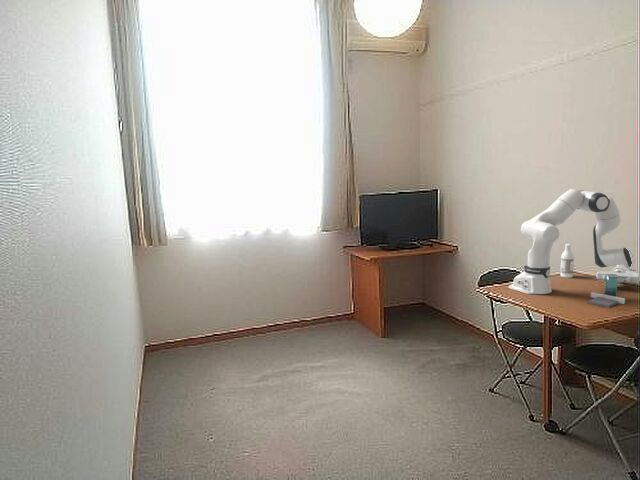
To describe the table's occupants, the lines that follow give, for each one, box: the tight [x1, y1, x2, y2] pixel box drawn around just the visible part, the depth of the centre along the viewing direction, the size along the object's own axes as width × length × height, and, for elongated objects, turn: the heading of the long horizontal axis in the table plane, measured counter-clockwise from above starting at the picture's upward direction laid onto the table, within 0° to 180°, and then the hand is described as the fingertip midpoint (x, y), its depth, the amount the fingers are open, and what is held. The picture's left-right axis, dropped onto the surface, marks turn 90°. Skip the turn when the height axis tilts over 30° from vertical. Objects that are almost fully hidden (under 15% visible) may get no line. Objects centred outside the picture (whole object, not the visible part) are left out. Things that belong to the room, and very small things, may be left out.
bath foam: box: [560, 243, 575, 279], centre depth 297 cm, size 7×7×20 cm
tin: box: [604, 274, 618, 297], centre depth 253 cm, size 6×6×12 cm
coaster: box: [587, 297, 619, 308], centre depth 246 cm, size 10×10×1 cm
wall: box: [590, 291, 626, 305], centre depth 250 cm, size 16×1×2 cm, turn 35°
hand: (615, 279), depth 261 cm, fingers open, 8 cm apart
